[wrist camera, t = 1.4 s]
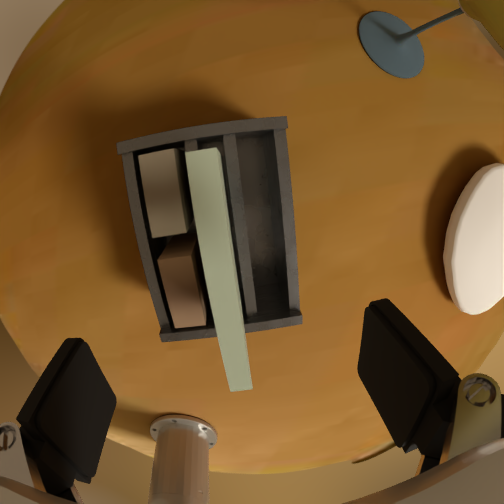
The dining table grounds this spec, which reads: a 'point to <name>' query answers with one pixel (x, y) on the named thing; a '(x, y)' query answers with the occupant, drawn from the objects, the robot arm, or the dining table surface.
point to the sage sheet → (219, 261)
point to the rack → (231, 220)
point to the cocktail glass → (405, 40)
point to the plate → (477, 243)
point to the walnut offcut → (184, 280)
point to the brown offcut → (167, 192)
